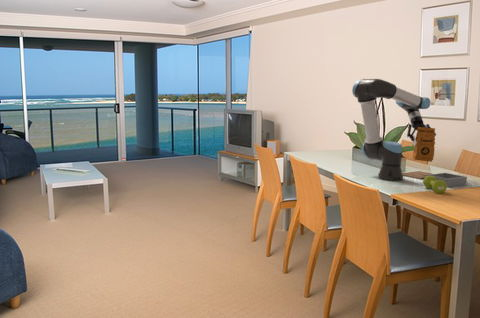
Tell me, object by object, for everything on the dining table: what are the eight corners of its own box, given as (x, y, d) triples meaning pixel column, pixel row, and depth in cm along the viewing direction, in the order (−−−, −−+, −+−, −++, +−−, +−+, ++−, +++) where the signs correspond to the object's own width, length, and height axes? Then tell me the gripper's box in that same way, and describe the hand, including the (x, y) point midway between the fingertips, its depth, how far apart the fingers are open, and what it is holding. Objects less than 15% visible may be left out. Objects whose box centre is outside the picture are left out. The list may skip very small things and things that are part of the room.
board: (420, 179, 280) (420, 178, 280) (398, 174, 296) (398, 173, 296) (441, 177, 289) (442, 175, 289) (419, 172, 305) (419, 171, 305)
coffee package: (433, 163, 285) (438, 130, 278) (413, 161, 288) (417, 128, 281) (431, 158, 294) (436, 126, 287) (411, 156, 297) (416, 125, 290)
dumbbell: (421, 187, 258) (422, 175, 257) (435, 187, 258) (436, 175, 257) (432, 193, 242) (433, 180, 241) (447, 194, 242) (448, 181, 240)
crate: (447, 187, 257) (448, 179, 256) (426, 182, 270) (426, 174, 269) (466, 185, 265) (466, 176, 264) (444, 180, 278) (445, 172, 277)
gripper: (431, 122, 303) (440, 147, 291) (397, 122, 302) (405, 148, 289) (435, 115, 297) (445, 140, 285) (400, 115, 296) (408, 141, 283)
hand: (424, 144), depth 287 cm, fingers closed on coffee package, 12 cm apart
